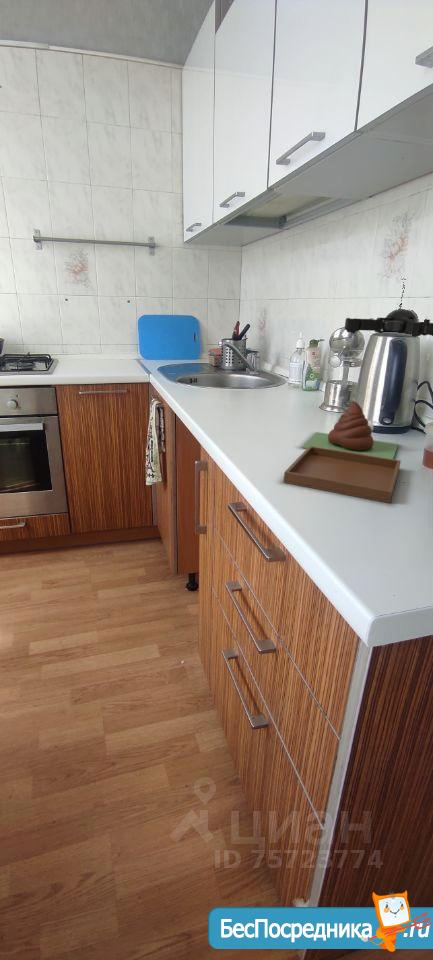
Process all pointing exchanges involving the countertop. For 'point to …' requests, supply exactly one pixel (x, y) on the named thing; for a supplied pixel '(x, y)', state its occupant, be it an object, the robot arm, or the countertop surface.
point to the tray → (345, 473)
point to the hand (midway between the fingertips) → (380, 327)
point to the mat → (377, 450)
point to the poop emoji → (352, 430)
